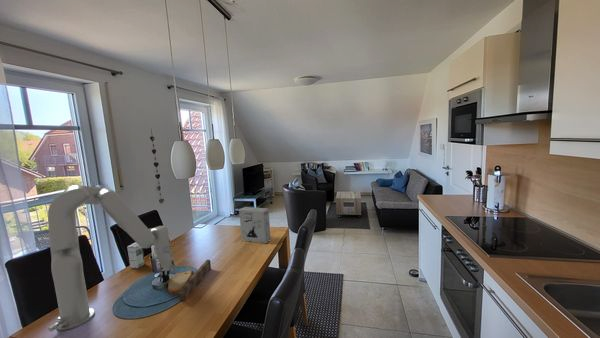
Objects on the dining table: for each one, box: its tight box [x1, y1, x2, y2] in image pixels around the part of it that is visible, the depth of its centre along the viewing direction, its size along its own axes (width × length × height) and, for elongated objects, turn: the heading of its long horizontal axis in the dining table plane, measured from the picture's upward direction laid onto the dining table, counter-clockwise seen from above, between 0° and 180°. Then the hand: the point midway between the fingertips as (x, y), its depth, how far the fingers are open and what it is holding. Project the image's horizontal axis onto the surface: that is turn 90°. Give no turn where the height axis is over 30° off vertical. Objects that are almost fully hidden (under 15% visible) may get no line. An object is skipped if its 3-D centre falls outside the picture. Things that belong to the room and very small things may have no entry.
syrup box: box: [126, 242, 146, 269], centre depth 158 cm, size 6×6×14 cm
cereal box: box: [238, 206, 271, 244], centre depth 188 cm, size 22×8×25 cm, turn 67°
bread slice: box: [167, 269, 195, 295], centre depth 136 cm, size 18×18×4 cm
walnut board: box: [178, 259, 212, 302], centre depth 134 cm, size 30×2×6 cm, turn 176°
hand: (166, 280), depth 136 cm, fingers closed
